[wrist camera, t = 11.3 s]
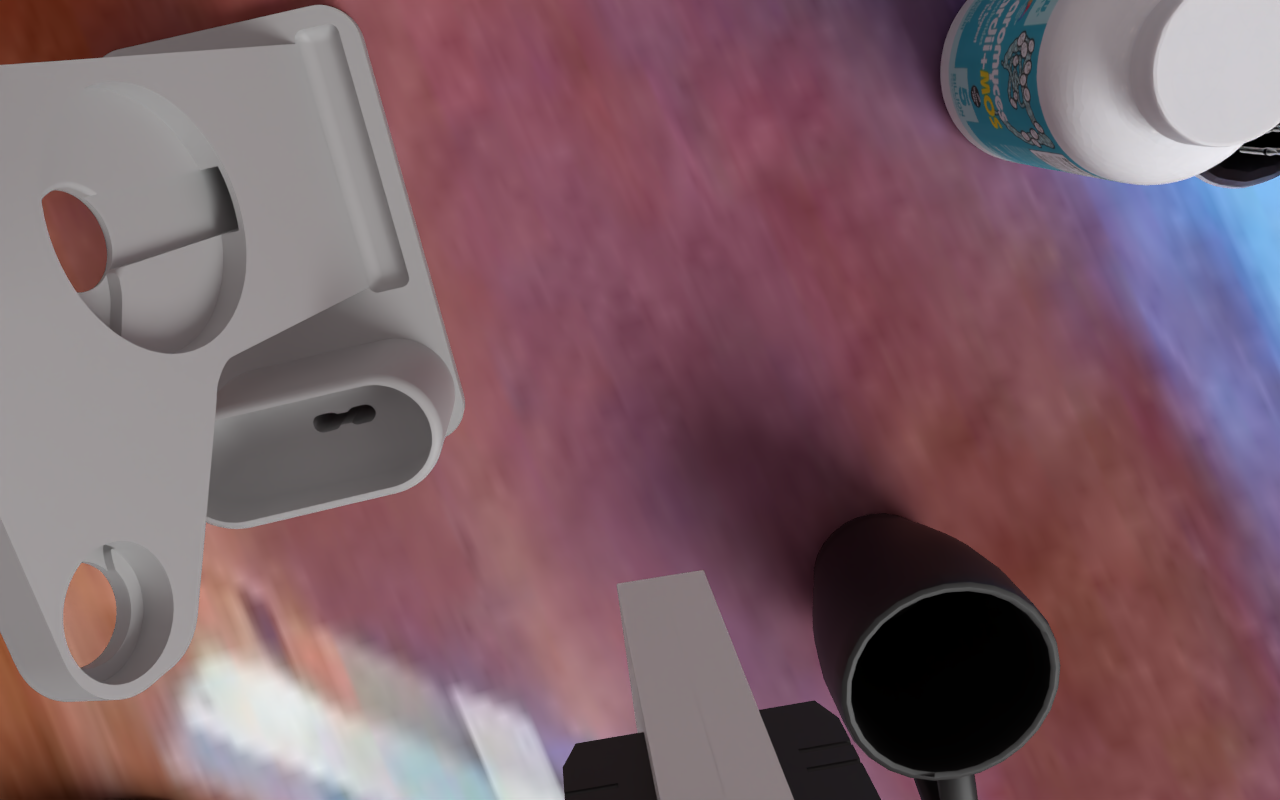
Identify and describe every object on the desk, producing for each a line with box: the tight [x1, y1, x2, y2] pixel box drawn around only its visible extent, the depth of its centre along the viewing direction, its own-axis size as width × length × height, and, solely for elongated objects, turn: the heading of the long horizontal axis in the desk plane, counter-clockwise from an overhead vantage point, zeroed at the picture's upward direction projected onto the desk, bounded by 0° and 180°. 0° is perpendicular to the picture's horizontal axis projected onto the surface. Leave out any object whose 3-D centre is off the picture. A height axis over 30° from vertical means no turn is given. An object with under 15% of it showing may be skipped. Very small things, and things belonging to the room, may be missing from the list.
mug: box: [812, 513, 1060, 800], centre depth 44 cm, size 8×12×10 cm
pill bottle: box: [940, 0, 1280, 185], centre depth 35 cm, size 8×7×14 cm
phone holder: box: [0, 5, 465, 702], centre depth 33 cm, size 17×10×18 cm, turn 12°
